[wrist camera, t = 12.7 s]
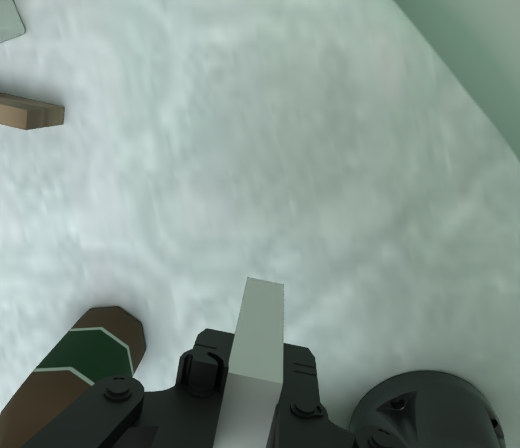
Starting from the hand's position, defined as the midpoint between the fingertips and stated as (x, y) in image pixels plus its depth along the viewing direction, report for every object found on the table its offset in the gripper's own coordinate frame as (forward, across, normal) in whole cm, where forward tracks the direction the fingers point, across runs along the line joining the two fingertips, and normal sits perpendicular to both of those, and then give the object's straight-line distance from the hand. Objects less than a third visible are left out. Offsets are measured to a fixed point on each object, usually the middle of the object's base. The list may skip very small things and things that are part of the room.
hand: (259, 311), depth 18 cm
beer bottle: (+24, +14, +18) cm, 33 cm away
